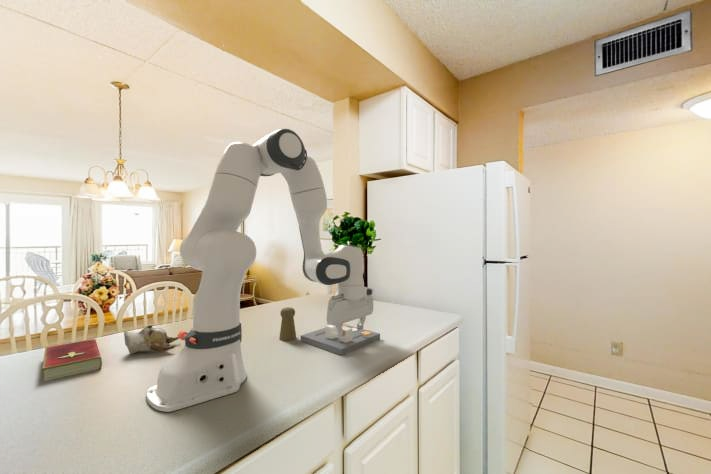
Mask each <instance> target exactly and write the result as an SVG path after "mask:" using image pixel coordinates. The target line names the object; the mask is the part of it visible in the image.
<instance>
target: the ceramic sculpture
mask: <svg viewBox="0 0 711 474" xmlns="http://www.w3.org/2000/svg"><path fill="white" fill-rule="evenodd" d="M123 335H124V345H125V346H126V348H127V351H128V352H129V354H130V355H134V354H136V353H137V352H149V353H153V352H154V353H155V352H159V353H163V352H166V351H169V350H171V349H174V348H175V346H174V345H171V343H174V342H175V341H177V340H179V338H178V336H175V337H171V336H168V335H167V331H166V330H164V329H163V328H160V327H157V328H156V327H155V328H153V326H152V325H148V326H145V327H144V328H141V330H140V331H138V332H135V331H127V330H125V331H124V332H123Z"/></svg>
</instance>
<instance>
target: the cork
mask: <svg viewBox="0 0 711 474" xmlns="http://www.w3.org/2000/svg"><path fill="white" fill-rule="evenodd" d="M279 314H280V317H281V323H280V331H279V340H280V341H283V342H291V341H294V340H296V339H297V333H296V326H295V318H294V317H295V315H296V310H295V308H294V307H284V308H281V310H280V313H279Z"/></svg>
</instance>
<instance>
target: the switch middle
mask: <svg viewBox="0 0 711 474" xmlns="http://www.w3.org/2000/svg"><path fill="white" fill-rule="evenodd" d="M324 328H325V338H329V339H334V338H337V337H338V330H337V328H336V326H333V325H327V324H326V325H325V327H324Z"/></svg>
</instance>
